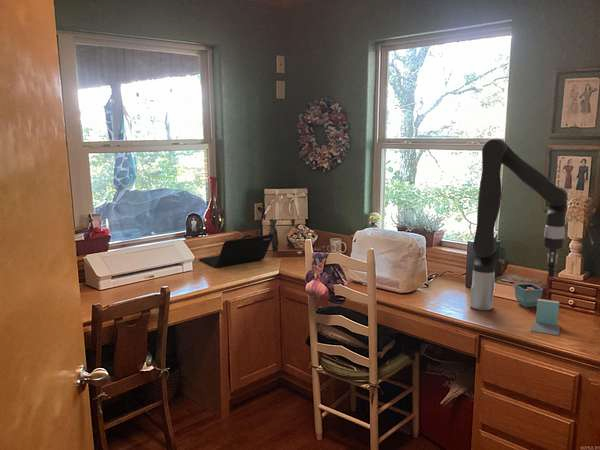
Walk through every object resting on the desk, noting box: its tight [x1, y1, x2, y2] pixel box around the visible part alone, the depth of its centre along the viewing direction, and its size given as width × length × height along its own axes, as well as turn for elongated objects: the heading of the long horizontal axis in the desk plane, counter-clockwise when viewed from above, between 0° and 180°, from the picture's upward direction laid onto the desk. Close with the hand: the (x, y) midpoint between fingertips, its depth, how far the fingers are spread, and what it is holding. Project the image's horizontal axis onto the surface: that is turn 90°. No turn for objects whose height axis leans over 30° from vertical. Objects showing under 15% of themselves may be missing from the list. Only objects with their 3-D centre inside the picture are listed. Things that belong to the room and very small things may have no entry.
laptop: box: [198, 233, 275, 269], centre depth 309 cm, size 33×38×19 cm
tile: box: [535, 299, 560, 326], centre depth 208 cm, size 8×2×10 cm, turn 62°
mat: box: [530, 321, 561, 337], centre depth 203 cm, size 10×10×1 cm
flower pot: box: [514, 283, 543, 308], centre depth 230 cm, size 9×9×9 cm
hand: (550, 276), depth 212 cm, fingers closed
